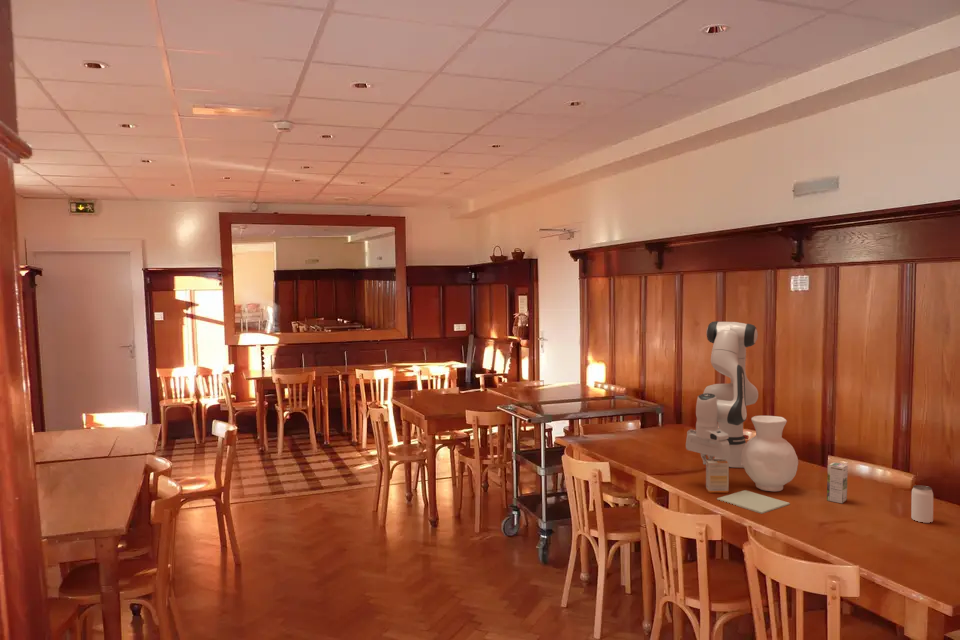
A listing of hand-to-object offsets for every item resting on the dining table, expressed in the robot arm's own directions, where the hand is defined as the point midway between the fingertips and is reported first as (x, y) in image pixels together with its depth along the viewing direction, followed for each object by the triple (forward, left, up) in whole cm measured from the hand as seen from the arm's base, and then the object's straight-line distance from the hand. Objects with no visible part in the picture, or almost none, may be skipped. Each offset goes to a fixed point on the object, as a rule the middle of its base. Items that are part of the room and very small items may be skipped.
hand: (707, 464), depth 275 cm
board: (0, +22, -10) cm, 24 cm away
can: (-31, +69, -11) cm, 76 cm away
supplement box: (0, +5, -10) cm, 11 cm away
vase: (-21, +15, -11) cm, 28 cm away
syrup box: (-28, +40, -11) cm, 50 cm away
